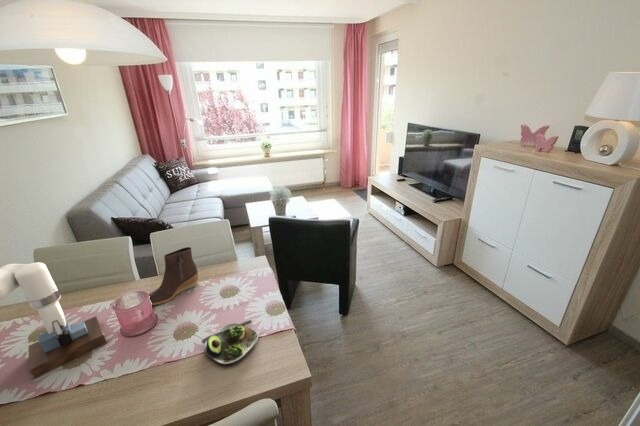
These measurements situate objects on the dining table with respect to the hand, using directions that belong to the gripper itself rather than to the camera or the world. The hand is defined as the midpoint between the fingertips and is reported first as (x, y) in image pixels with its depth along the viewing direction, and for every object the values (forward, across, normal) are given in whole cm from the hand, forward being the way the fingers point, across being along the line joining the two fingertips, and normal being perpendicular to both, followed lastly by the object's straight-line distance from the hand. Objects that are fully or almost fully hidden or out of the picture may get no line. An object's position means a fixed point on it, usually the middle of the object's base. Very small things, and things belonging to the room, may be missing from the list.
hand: (65, 338), depth 104 cm
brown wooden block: (+5, 0, 0) cm, 5 cm away
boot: (+5, -4, +38) cm, 38 cm away
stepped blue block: (+1, 0, 0) cm, 1 cm away
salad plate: (+5, +42, +41) cm, 59 cm away
